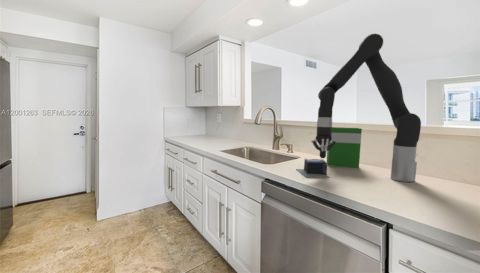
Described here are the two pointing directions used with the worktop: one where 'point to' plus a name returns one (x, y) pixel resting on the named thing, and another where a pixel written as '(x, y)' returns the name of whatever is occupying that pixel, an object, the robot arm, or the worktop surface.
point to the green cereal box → (345, 147)
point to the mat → (312, 174)
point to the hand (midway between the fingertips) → (322, 157)
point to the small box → (315, 166)
